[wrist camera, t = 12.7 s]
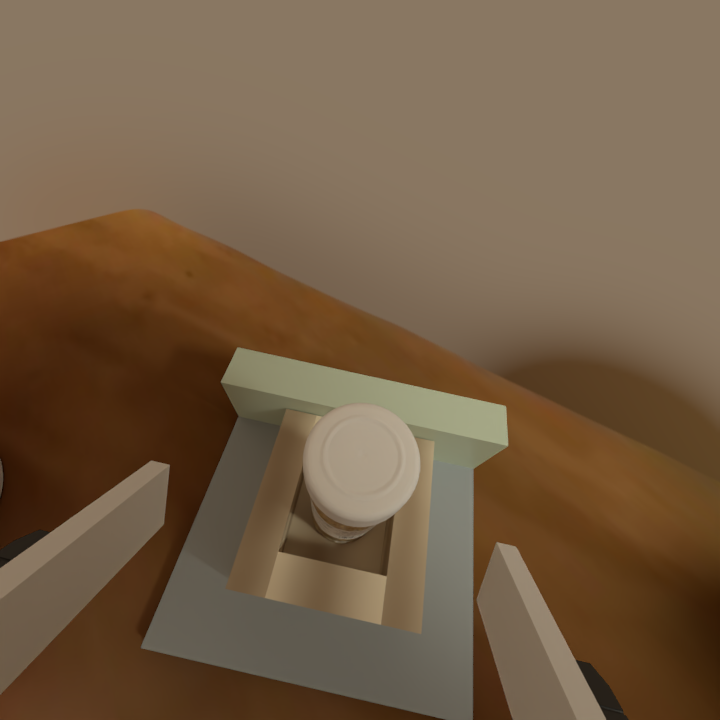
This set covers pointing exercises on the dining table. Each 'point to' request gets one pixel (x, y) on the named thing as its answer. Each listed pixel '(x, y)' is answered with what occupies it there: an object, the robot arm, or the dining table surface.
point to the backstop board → (313, 627)
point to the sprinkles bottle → (358, 469)
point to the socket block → (333, 545)
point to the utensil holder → (1, 477)
